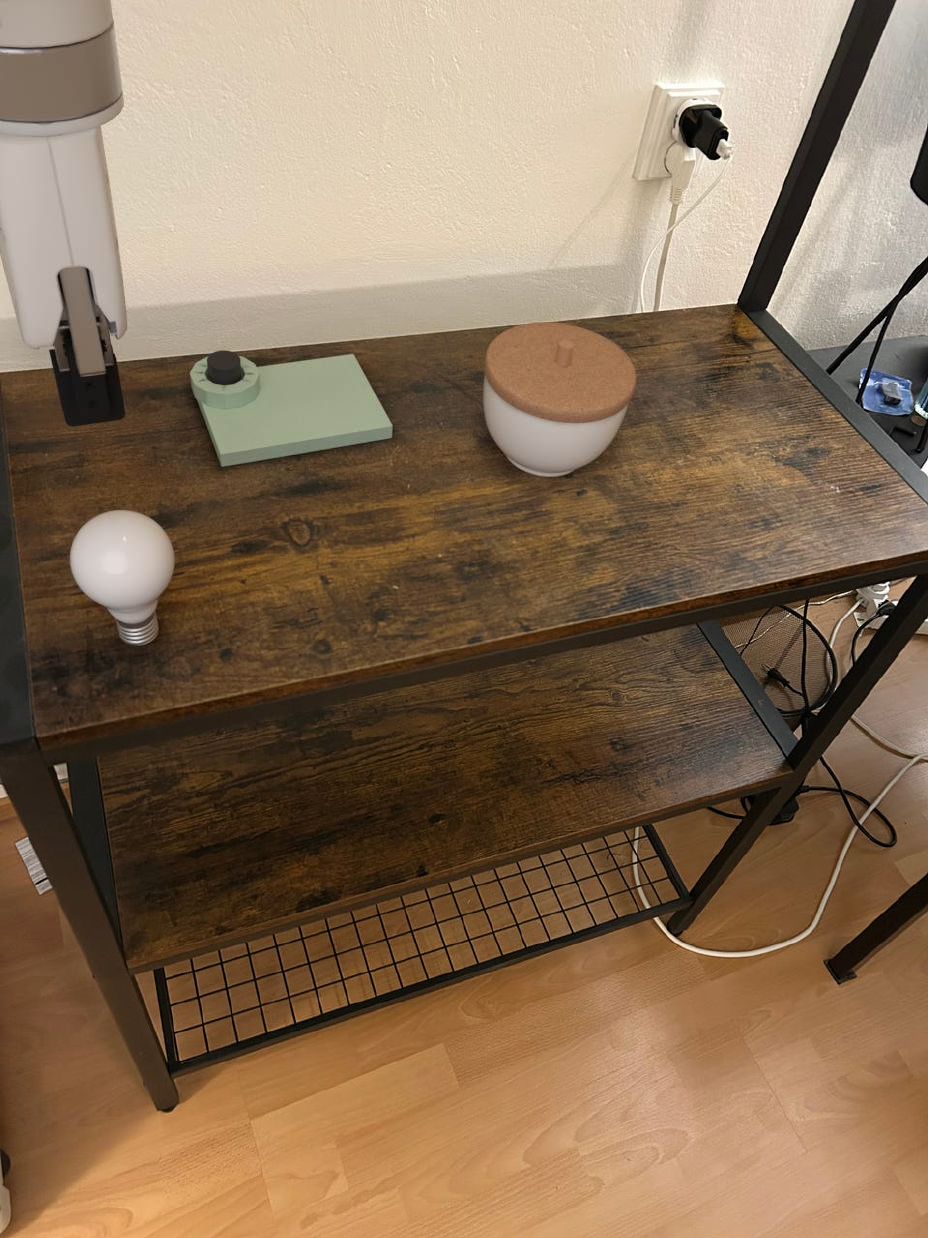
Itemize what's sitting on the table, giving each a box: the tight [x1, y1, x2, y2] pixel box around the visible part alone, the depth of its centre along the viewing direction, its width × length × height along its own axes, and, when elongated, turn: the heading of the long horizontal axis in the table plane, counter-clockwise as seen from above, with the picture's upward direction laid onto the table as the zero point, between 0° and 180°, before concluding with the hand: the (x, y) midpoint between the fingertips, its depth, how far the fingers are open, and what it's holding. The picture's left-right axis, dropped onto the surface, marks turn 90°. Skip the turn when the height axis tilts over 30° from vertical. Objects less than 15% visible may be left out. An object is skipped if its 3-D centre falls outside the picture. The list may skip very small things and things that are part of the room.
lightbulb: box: [69, 509, 176, 647], centre depth 64 cm, size 6×6×11 cm
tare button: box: [207, 349, 242, 385], centre depth 84 cm, size 3×3×2 cm
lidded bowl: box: [482, 321, 638, 478], centre depth 82 cm, size 13×13×11 cm
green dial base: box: [189, 353, 394, 468], centre depth 85 cm, size 15×11×3 cm
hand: (94, 414), depth 55 cm, fingers closed
